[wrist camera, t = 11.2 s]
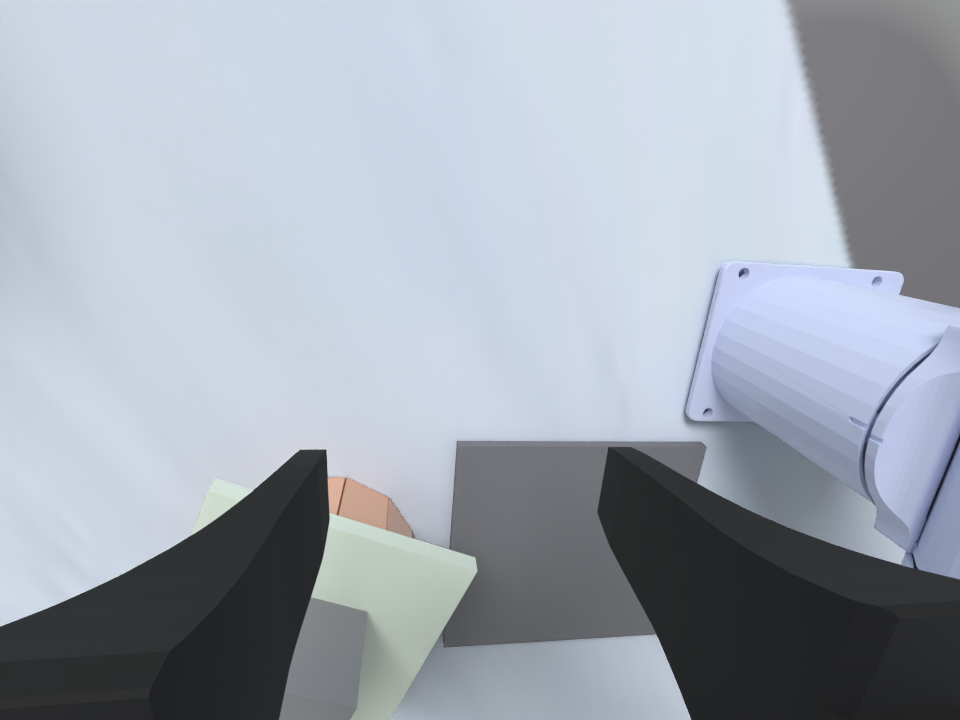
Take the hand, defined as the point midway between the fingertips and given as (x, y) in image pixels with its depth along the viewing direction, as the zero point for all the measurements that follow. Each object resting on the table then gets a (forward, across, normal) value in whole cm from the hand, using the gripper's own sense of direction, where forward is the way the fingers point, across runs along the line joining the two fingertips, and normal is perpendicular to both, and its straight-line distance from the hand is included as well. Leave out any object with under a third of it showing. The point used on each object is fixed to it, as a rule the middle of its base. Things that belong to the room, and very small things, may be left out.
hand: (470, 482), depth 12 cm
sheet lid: (+6, +6, +11) cm, 14 cm away
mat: (+10, -7, +11) cm, 17 cm away
